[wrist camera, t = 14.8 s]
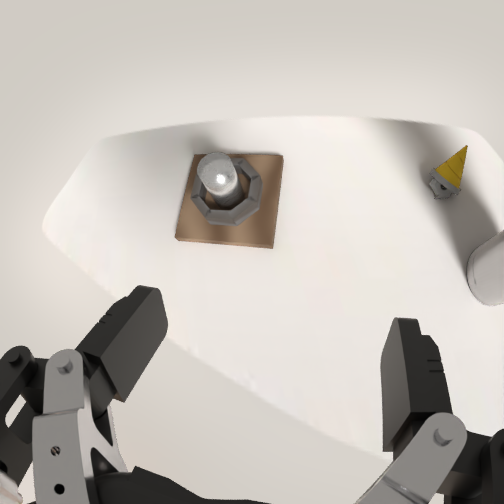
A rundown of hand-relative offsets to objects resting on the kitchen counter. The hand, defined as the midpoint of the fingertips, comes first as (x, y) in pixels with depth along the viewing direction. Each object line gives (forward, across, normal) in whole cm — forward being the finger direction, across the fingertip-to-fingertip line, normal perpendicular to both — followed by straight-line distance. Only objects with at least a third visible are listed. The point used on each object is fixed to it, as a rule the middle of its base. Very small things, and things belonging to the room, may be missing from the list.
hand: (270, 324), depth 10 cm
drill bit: (+39, -20, +4) cm, 44 cm away
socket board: (+34, +12, +9) cm, 37 cm away
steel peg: (+33, +12, +8) cm, 36 cm away
